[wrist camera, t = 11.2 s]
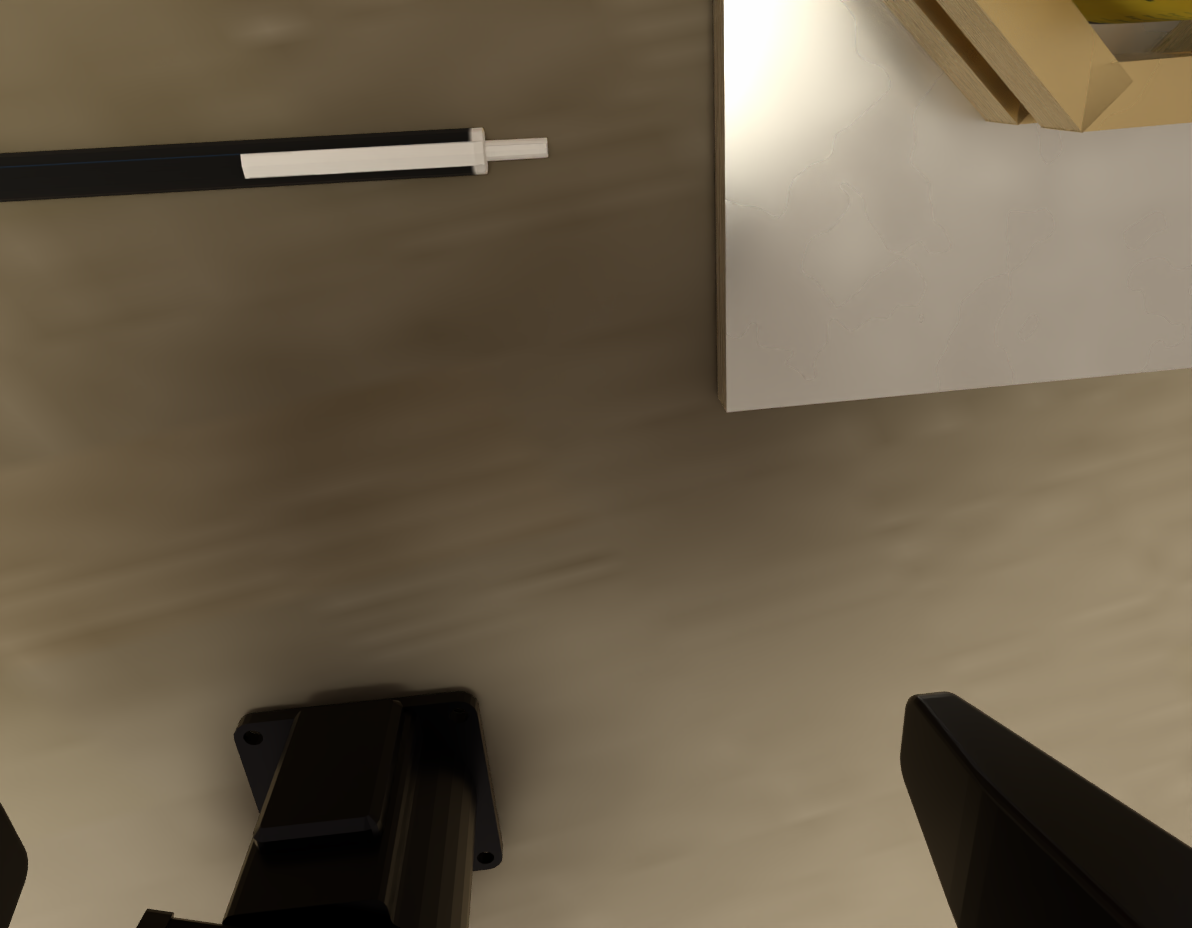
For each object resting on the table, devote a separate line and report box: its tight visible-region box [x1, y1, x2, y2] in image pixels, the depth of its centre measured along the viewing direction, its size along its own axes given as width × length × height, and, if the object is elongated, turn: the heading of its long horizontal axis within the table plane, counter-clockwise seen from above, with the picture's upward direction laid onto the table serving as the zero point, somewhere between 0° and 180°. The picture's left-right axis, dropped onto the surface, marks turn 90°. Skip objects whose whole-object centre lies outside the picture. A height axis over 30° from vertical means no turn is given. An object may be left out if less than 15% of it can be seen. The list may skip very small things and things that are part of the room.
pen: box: [0, 127, 548, 202], centre depth 16 cm, size 1×19×1 cm, turn 93°
